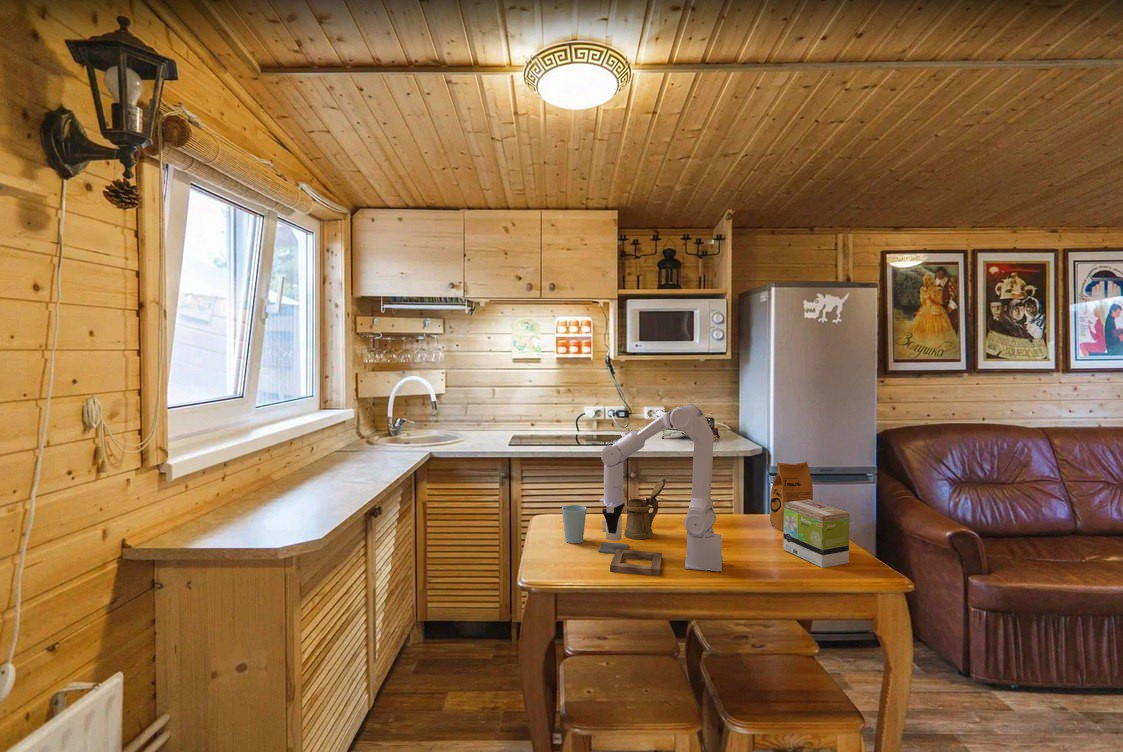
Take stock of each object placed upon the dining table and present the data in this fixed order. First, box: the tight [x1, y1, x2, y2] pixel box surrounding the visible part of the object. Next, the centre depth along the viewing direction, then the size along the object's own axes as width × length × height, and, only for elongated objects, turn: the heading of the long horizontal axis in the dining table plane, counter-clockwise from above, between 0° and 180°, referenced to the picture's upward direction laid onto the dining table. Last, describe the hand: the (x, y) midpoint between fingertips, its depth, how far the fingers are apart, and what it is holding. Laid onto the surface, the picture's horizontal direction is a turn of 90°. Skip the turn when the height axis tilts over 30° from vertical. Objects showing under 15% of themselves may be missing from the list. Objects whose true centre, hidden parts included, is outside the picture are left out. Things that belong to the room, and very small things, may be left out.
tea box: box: [783, 499, 850, 569], centre depth 157 cm, size 15×10×15 cm
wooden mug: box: [623, 478, 666, 540], centre depth 177 cm, size 9×14×18 cm, turn 95°
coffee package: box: [769, 461, 814, 532], centre depth 185 cm, size 10×12×22 cm
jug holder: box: [609, 549, 663, 577], centre depth 152 cm, size 13×13×2 cm
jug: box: [601, 515, 623, 542], centre depth 164 cm, size 6×5×6 cm
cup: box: [561, 504, 587, 544], centre depth 172 cm, size 8×8×10 cm
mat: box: [597, 541, 630, 555], centre depth 164 cm, size 8×8×1 cm
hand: (613, 530), depth 164 cm, fingers closed on jug, 5 cm apart
